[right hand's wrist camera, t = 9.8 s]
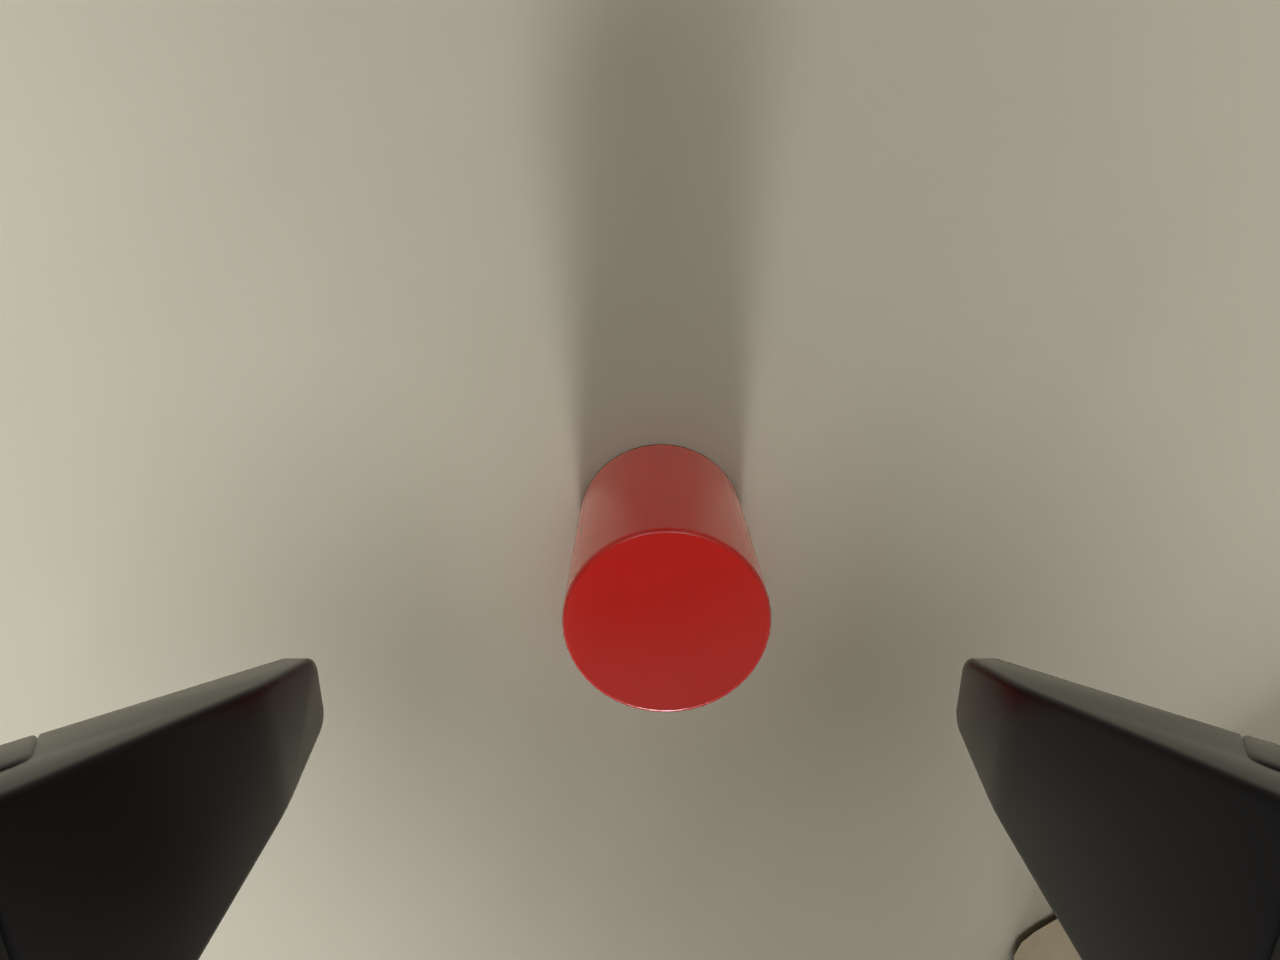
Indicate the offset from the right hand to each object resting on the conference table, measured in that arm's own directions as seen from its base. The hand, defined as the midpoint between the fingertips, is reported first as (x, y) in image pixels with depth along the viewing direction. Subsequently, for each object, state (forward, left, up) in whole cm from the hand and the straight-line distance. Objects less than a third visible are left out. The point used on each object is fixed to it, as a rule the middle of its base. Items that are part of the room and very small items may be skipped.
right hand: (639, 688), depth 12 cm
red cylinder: (-1, +1, -8) cm, 8 cm away
